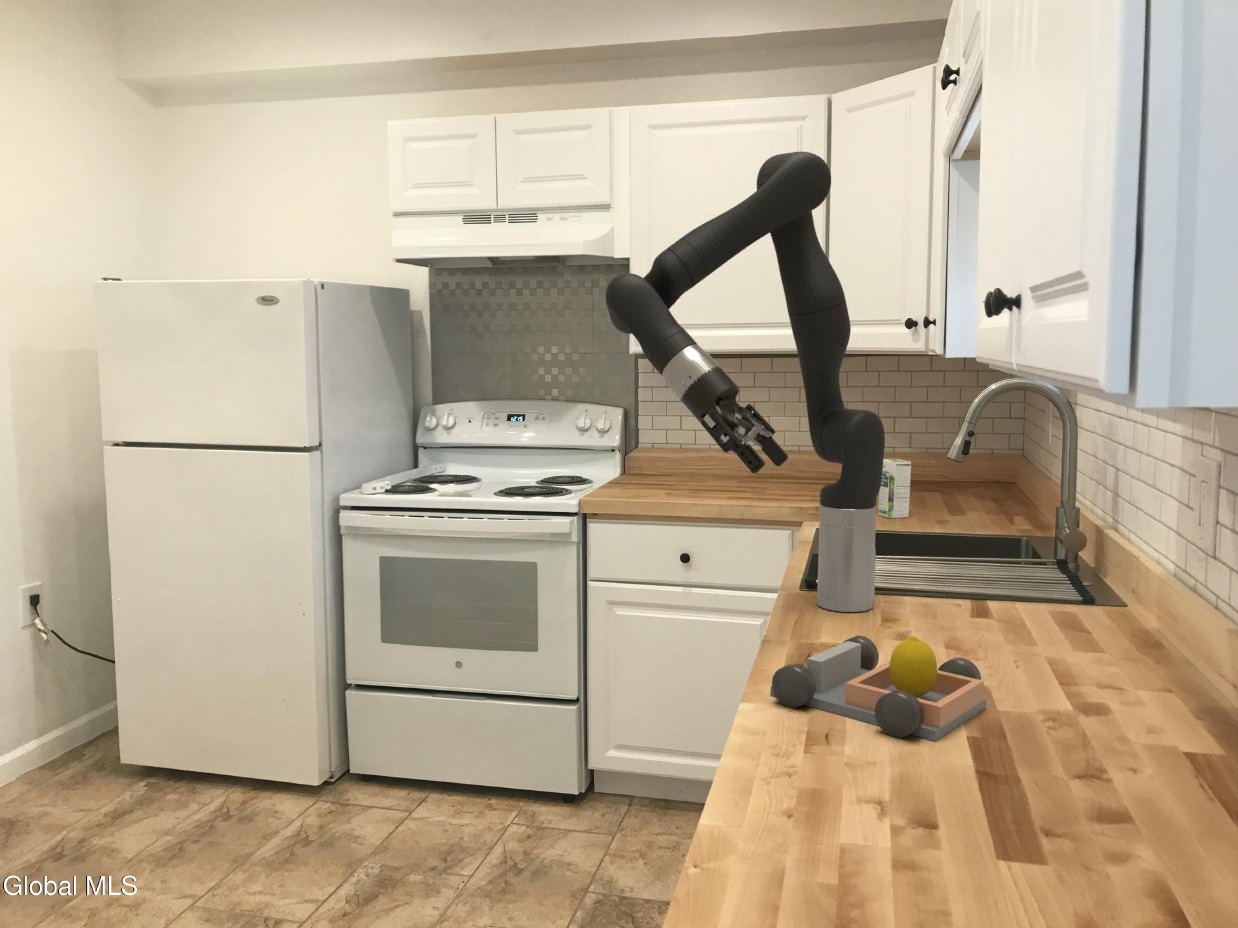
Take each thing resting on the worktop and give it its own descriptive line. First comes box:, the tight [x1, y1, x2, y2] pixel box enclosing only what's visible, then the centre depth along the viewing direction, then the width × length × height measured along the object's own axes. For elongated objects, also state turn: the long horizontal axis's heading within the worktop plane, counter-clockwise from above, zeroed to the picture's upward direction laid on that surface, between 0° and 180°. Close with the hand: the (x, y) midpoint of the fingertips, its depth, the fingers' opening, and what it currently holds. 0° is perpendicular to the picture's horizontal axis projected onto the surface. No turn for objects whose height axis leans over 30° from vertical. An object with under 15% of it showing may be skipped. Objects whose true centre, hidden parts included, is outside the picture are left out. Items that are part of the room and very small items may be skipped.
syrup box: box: [877, 458, 912, 519], centre depth 258 cm, size 6×6×14 cm
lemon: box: [889, 635, 938, 698], centre depth 123 cm, size 6×6×8 cm
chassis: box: [769, 635, 987, 742], centre depth 126 cm, size 18×22×5 cm
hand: (772, 465), depth 144 cm, fingers open, 8 cm apart
